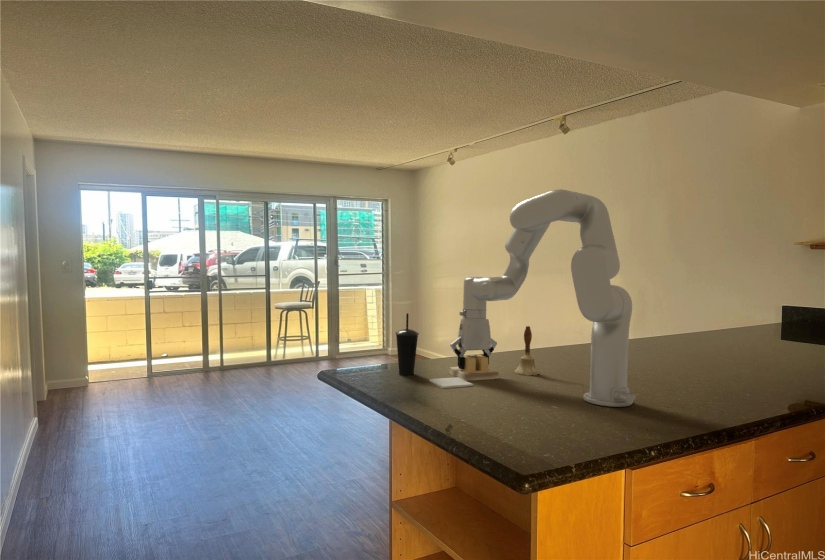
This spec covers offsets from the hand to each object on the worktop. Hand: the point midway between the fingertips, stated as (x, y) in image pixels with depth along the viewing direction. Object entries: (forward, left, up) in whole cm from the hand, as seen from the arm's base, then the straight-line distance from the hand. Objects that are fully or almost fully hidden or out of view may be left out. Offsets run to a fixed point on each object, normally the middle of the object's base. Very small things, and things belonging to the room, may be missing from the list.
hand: (473, 367), depth 177 cm
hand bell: (-1, -20, -3) cm, 20 cm away
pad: (-8, +12, -3) cm, 15 cm away
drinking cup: (+9, +20, -3) cm, 22 cm away
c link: (0, 0, -1) cm, 1 cm away
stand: (0, 0, -3) cm, 3 cm away
